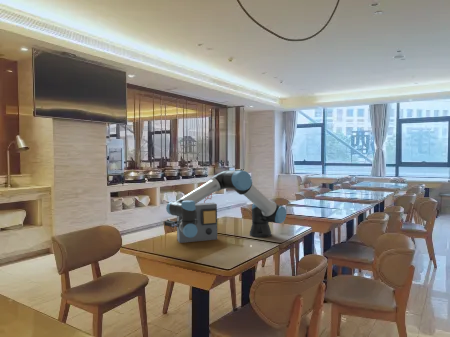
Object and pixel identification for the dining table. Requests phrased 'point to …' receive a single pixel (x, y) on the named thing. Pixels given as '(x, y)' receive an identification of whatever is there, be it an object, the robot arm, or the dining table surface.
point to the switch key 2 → (209, 216)
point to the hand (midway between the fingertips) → (178, 219)
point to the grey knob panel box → (200, 225)
